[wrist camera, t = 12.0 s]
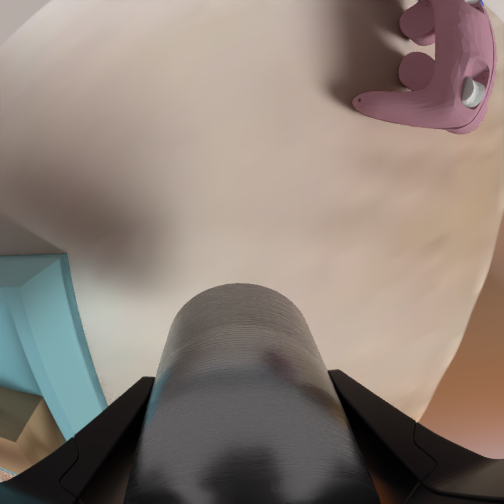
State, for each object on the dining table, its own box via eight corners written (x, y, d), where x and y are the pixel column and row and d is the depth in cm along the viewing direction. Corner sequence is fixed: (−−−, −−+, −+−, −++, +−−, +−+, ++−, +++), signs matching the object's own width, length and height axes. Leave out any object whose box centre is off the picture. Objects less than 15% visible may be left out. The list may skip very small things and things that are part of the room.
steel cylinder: (304, 395, 12) (349, 549, 5) (178, 399, 11) (156, 559, 5) (314, 280, 10) (417, 449, 4) (159, 284, 10) (79, 465, 3)
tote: (130, 458, 21) (119, 504, 16) (1, 428, 20) (-19, 460, 15) (66, 253, 16) (19, 287, 11) (-69, 258, 15) (-109, 280, 10)
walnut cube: (65, 440, 19) (46, 484, 14) (21, 428, 19) (-1, 466, 14) (43, 396, 18) (15, 442, 13) (-2, 385, 17) (-31, 424, 12)
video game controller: (393, 133, 17) (502, 149, 11) (342, 114, 14) (474, 122, 9) (399, -2, 14) (493, -12, 8) (351, -36, 11) (456, -63, 6)
